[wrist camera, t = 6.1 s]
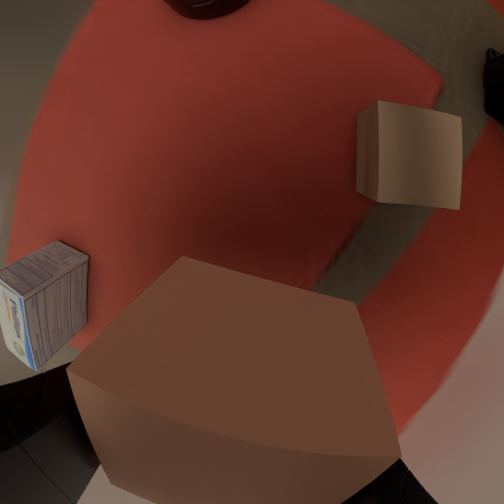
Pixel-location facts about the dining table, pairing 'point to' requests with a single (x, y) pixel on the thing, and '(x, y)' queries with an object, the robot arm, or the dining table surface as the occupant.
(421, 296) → the dining table surface
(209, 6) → the supplement bottle
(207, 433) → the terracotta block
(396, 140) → the walnut block
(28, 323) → the medicine box
